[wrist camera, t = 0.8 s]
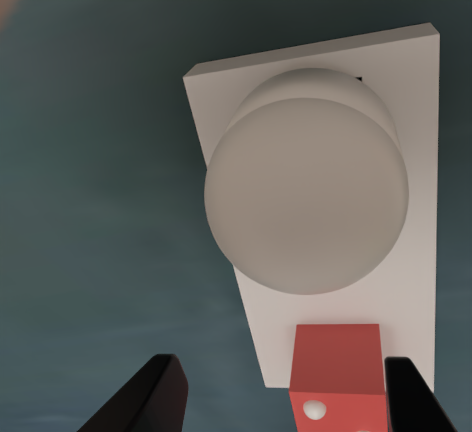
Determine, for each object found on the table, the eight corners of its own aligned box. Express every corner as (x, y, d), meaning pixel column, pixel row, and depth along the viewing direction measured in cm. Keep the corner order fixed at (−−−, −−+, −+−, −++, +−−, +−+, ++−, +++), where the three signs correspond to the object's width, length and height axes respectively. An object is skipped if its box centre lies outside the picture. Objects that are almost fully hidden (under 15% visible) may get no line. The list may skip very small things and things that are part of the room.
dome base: (427, 361, 25) (450, 479, 20) (270, 359, 28) (252, 464, 22) (430, 22, 16) (472, 71, 11) (196, 63, 19) (138, 120, 13)
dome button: (395, 191, 19) (423, 340, 12) (253, 202, 20) (209, 339, 14) (389, 38, 16) (423, 126, 9) (223, 67, 17) (148, 158, 11)
